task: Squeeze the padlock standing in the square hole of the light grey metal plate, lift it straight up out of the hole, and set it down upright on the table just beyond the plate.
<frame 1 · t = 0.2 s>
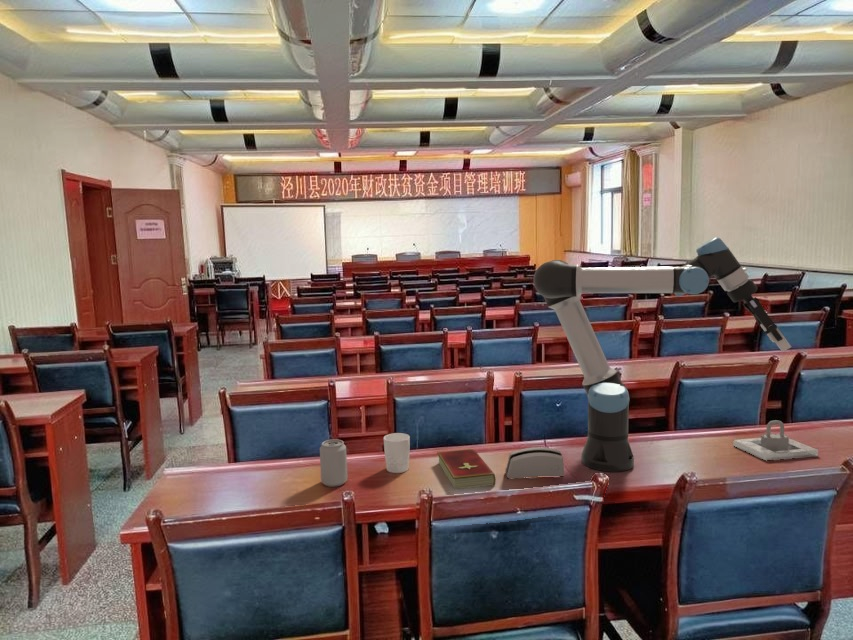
hand: (781, 344, 168), 36 cm above the table, tool tilted 35°, fingers open, 13 cm apart
holed plate: (774, 450, 181), on the table
hardcover book: (465, 475, 169), on the table
white cup: (397, 469, 173), on the table
napkin holder: (535, 477, 165), on the table
can: (334, 483, 164), on the table
padlock: (774, 451, 181), resting in holed plate
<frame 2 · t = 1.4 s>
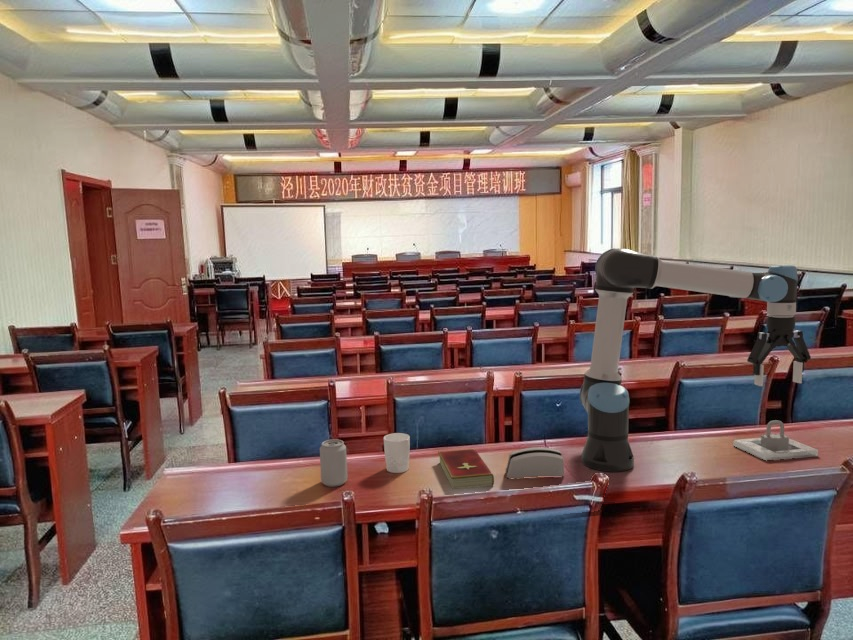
hand: (777, 383, 178), 22 cm above the table, tool pointing down, fingers open, 13 cm apart
nothing on the table moved.
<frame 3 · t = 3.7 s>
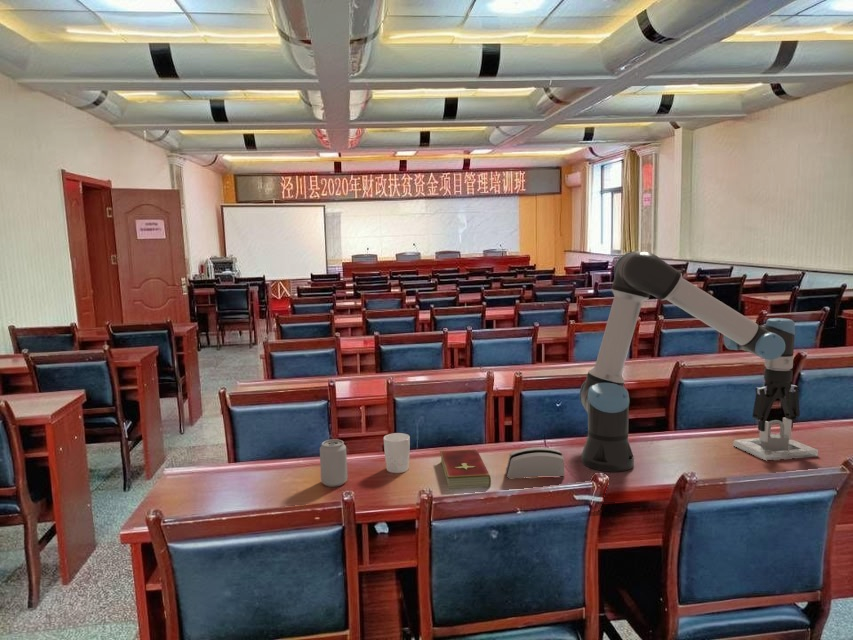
hand: (774, 439, 180), 4 cm above the table, tool pointing down, fingers closed on padlock, 7 cm apart
padlock: (774, 451, 181), resting in holed plate, touching gripper
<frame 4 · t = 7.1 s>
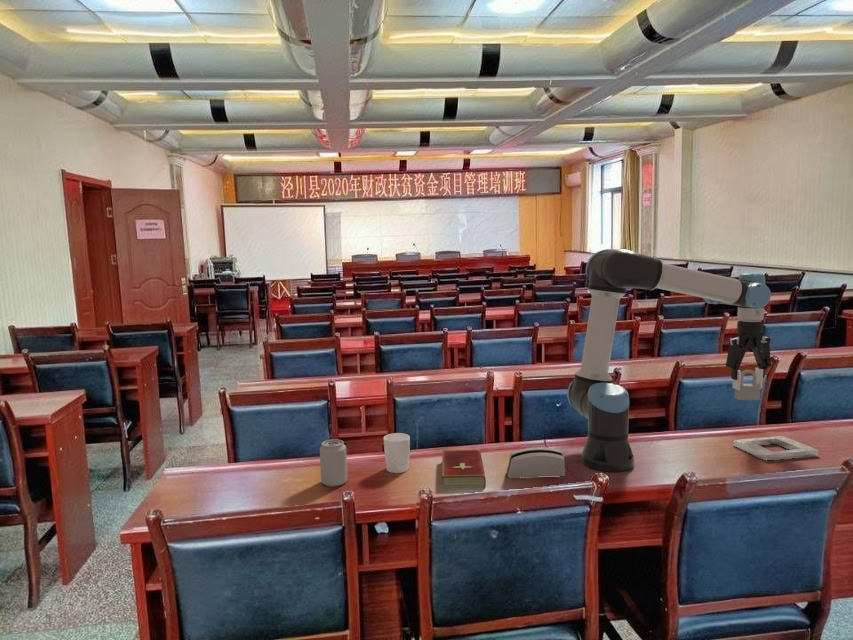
hand: (747, 388, 191), 17 cm above the table, tool pointing down, fingers closed on padlock, 7 cm apart
padlock: (746, 399, 192), point 13 cm above the table, touching gripper
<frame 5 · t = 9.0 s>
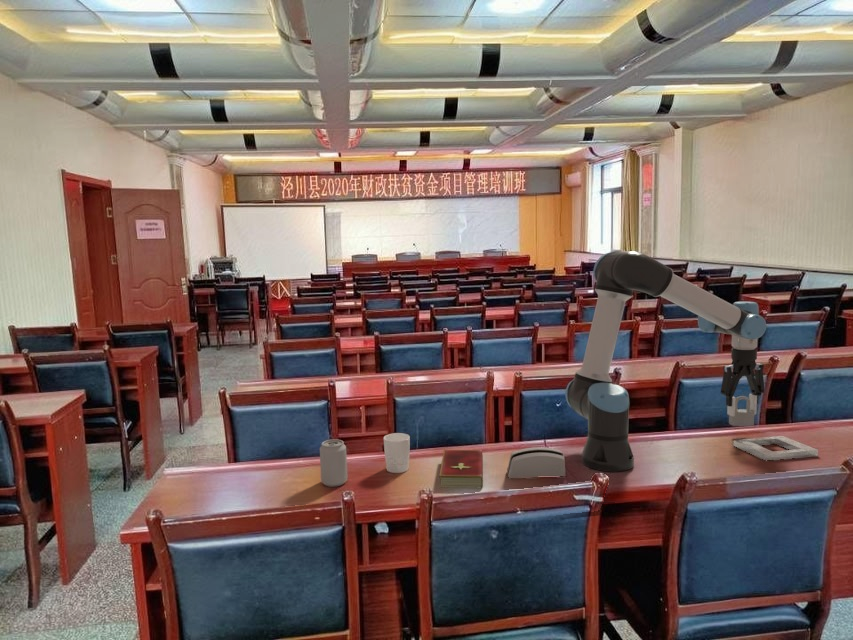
hand: (741, 414, 195), 8 cm above the table, tool pointing down, fingers closed on padlock, 7 cm apart
padlock: (741, 425, 195), point 4 cm above the table, touching gripper
when the fingers open (5 cm above the table, at t = 10.5 s): padlock stays where it is, on the table.
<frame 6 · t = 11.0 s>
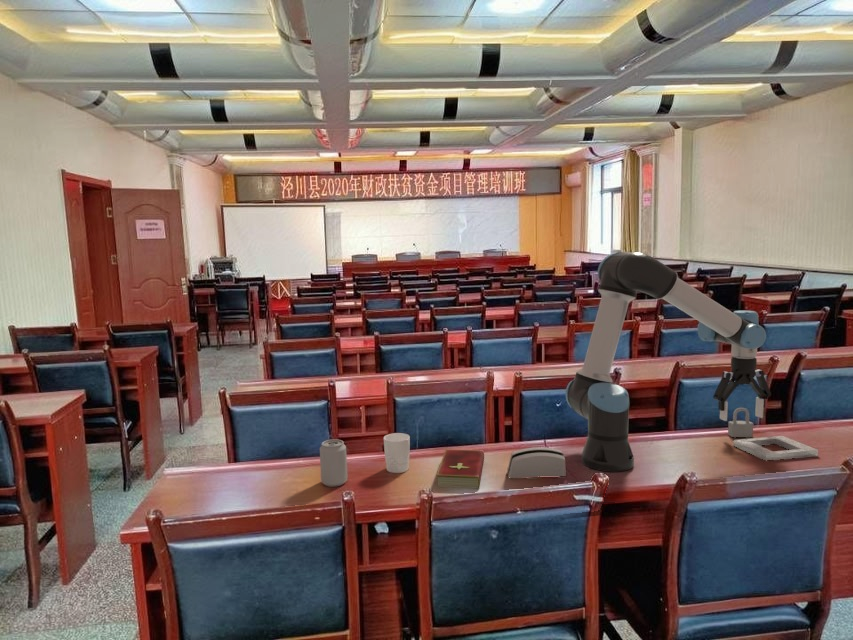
hand: (741, 418, 195), 6 cm above the table, tool pointing down, fingers open, 13 cm apart
padlock: (740, 436, 195), on the table
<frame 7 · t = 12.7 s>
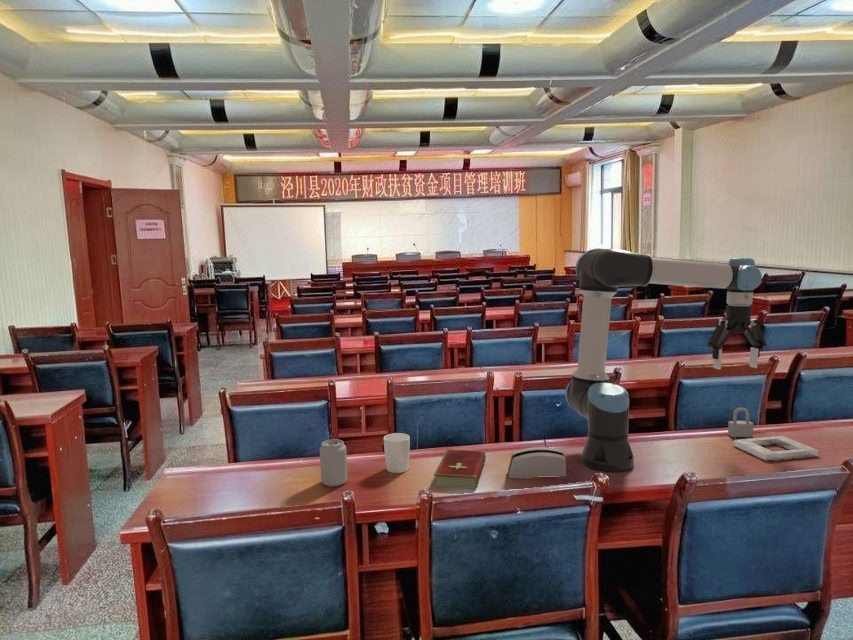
hand: (735, 368, 192), 24 cm above the table, tool pointing down, fingers open, 13 cm apart
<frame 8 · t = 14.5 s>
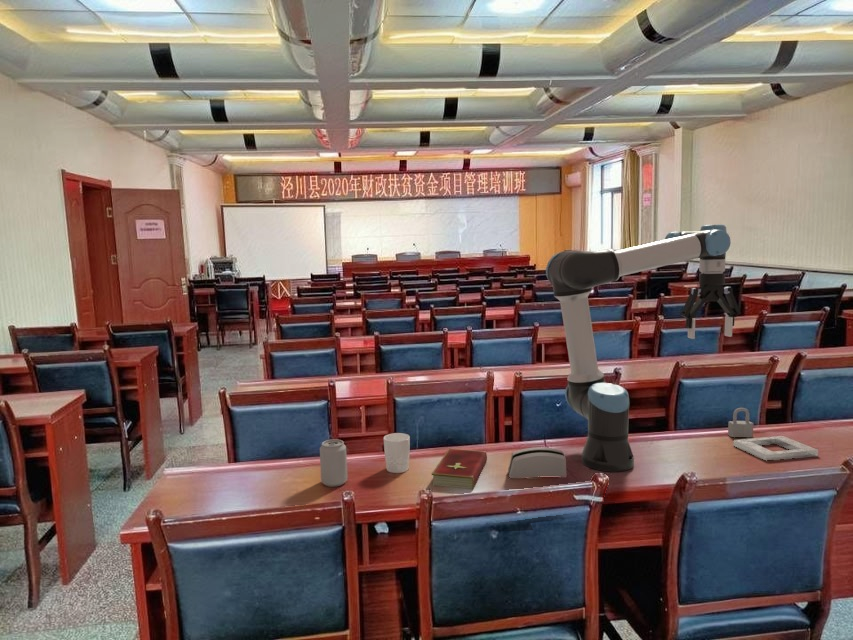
hand: (709, 337, 189), 35 cm above the table, tool pointing down, fingers open, 13 cm apart
at the end: padlock inside the target area (0.1 cm from its centre), on the table; padlock tilted 0°; the gripper is holding nothing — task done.
